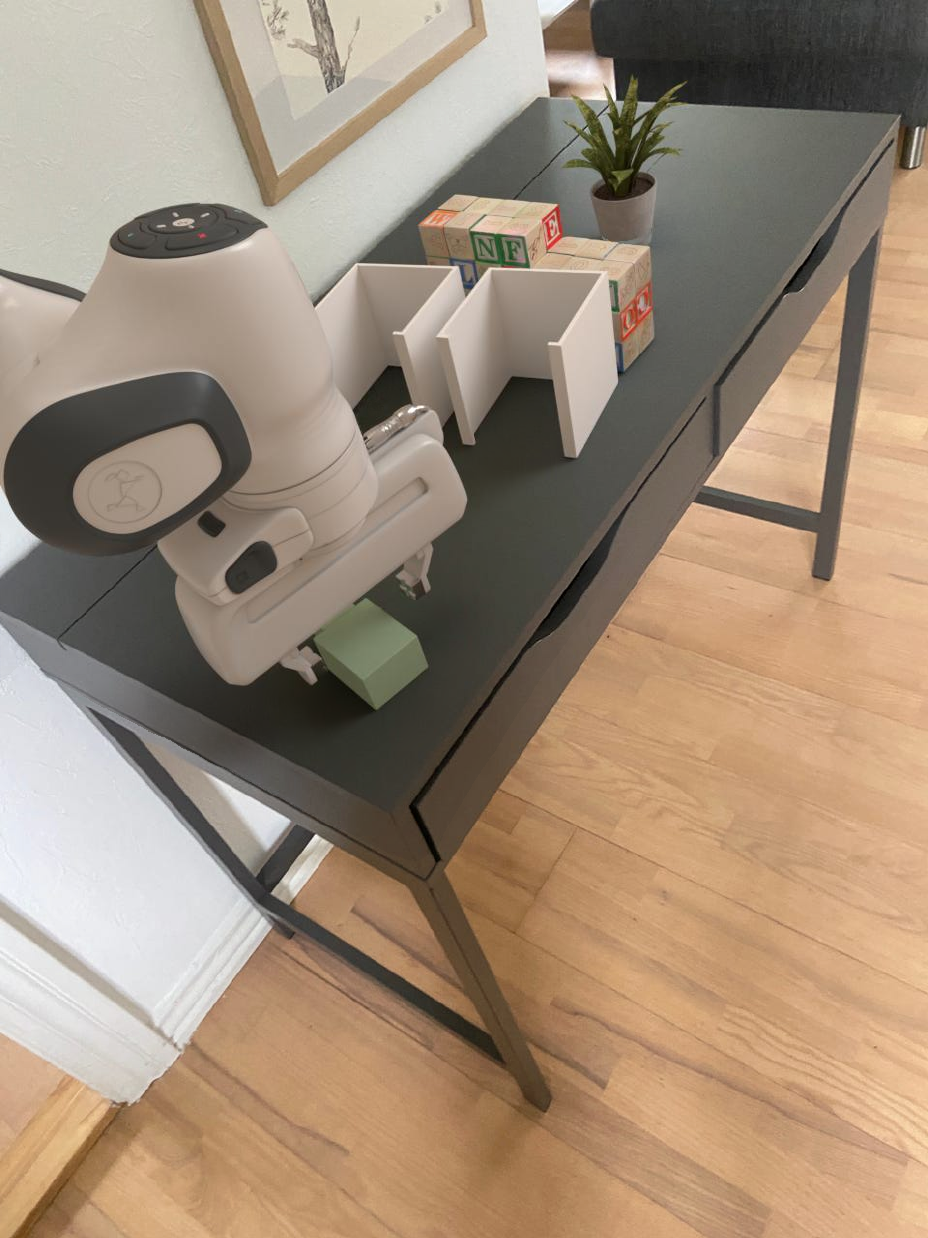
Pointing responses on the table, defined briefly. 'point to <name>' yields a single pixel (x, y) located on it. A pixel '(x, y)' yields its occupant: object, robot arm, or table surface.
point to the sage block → (370, 652)
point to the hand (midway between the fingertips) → (367, 632)
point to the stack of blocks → (542, 257)
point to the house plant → (623, 165)
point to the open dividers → (475, 339)
